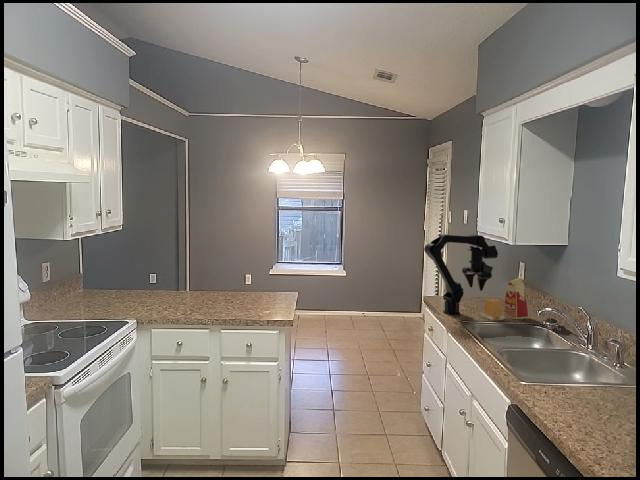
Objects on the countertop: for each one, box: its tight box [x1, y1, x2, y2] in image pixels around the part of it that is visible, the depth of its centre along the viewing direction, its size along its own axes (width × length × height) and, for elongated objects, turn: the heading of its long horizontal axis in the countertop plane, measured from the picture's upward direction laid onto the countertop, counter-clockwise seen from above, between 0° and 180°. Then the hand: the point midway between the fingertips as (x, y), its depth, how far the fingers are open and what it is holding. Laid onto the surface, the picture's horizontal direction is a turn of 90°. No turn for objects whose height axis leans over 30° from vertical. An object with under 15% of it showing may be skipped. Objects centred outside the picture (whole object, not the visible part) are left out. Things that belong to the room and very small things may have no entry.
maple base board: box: [480, 313, 506, 322], centre depth 234 cm, size 7×9×1 cm
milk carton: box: [503, 276, 530, 320], centre depth 235 cm, size 9×9×20 cm
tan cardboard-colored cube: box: [483, 298, 502, 317], centre depth 234 cm, size 6×6×8 cm
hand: (476, 288), depth 246 cm, fingers open, 9 cm apart
